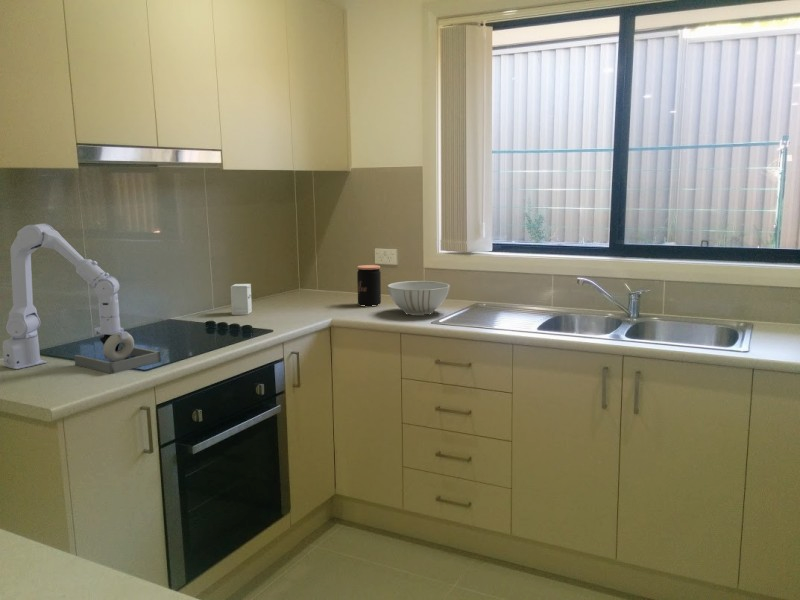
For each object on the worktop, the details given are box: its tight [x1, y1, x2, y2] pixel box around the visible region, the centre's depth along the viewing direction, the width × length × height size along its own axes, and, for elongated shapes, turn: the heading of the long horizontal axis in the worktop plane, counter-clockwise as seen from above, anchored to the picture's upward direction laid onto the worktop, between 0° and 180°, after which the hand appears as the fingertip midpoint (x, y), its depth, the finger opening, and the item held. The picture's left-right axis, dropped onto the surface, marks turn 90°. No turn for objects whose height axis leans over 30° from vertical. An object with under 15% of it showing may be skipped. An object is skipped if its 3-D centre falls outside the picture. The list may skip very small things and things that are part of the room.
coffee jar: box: [356, 264, 382, 306], centre depth 308 cm, size 11×11×18 cm
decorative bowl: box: [387, 280, 451, 316], centre depth 288 cm, size 27×27×12 cm
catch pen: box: [73, 344, 162, 374], centre depth 208 cm, size 17×19×3 cm
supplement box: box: [230, 283, 253, 316], centre depth 289 cm, size 7×7×13 cm
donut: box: [102, 332, 135, 363], centre depth 207 cm, size 10×4×10 cm, turn 146°
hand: (112, 358), depth 210 cm, fingers closed, pressing on donut
